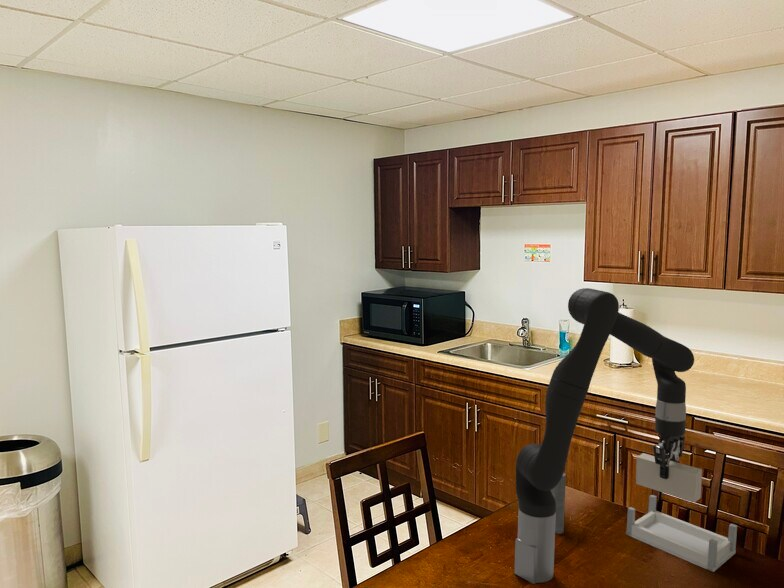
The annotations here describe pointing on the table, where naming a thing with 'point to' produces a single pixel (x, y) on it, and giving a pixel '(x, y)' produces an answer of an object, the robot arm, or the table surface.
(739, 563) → the table surface
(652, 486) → the panel
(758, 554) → the table surface
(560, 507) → the hip flask
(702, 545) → the rack
